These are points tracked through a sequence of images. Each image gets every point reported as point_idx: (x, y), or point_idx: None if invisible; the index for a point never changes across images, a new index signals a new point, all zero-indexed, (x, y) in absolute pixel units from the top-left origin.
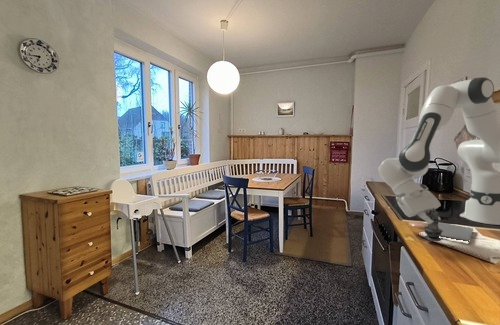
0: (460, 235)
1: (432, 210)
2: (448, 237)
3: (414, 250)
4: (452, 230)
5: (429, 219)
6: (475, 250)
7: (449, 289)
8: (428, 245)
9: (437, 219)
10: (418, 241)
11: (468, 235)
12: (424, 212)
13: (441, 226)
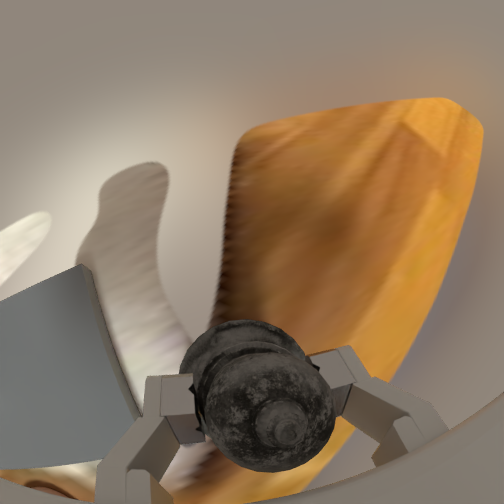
0: (37, 327)
1: (307, 425)
2: (109, 354)
3: (411, 335)
4: (5, 384)
5: (361, 371)
6: (139, 221)
7: (463, 150)
8: None
9: (253, 353)
10: None
11: (11, 304)
12: (411, 435)
13: (3, 442)
